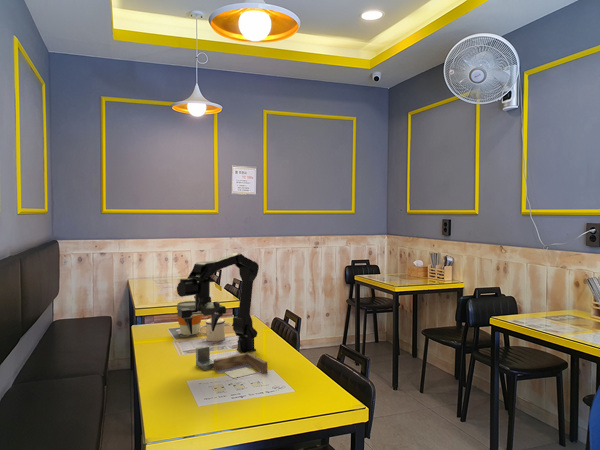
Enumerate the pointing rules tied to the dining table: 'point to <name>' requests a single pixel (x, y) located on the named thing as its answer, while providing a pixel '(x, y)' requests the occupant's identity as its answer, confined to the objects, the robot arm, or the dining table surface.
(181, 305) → the reusable coffee cup
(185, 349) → the dining table surface
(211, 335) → the teacup with lid
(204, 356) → the bracket
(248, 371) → the beige flat tile
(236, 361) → the brown l-shaped piece
